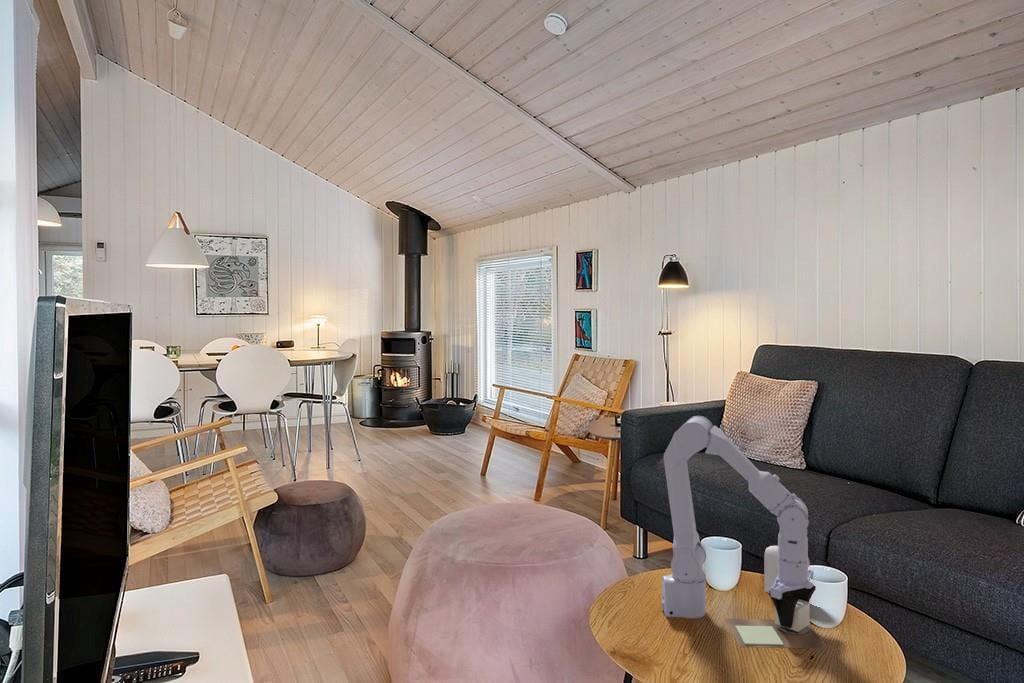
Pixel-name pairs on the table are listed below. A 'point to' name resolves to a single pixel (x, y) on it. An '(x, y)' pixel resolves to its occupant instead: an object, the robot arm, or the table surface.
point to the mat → (759, 635)
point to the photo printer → (771, 567)
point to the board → (788, 639)
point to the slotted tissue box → (798, 616)
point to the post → (789, 631)
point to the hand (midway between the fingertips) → (792, 622)
